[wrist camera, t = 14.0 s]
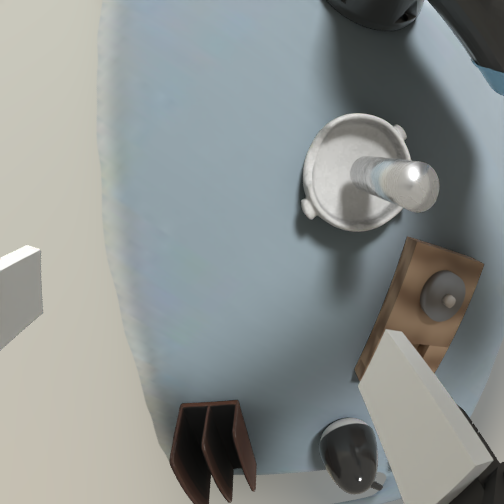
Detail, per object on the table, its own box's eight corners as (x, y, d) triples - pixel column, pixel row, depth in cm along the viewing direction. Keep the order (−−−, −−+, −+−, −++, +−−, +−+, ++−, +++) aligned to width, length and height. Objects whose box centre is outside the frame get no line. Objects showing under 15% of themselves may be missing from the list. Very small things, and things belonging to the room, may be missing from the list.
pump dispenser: (346, 448, 51) (362, 507, 36) (304, 437, 49) (315, 503, 35) (379, 416, 48) (405, 477, 34) (338, 403, 47) (359, 472, 32)
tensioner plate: (407, 236, 39) (429, 248, 33) (473, 258, 40) (496, 271, 34) (354, 369, 45) (365, 394, 39) (421, 374, 46) (435, 395, 40)
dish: (296, 224, 39) (302, 233, 34) (297, 113, 35) (304, 106, 30) (400, 226, 39) (417, 235, 34) (404, 124, 35) (422, 121, 30)
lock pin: (356, 150, 31) (406, 153, 20) (387, 163, 31) (445, 173, 21) (345, 184, 32) (391, 202, 21) (376, 196, 33) (430, 219, 22)
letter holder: (209, 465, 52) (202, 519, 39) (180, 401, 47) (163, 466, 33) (257, 463, 52) (257, 519, 38) (238, 398, 46) (234, 466, 33)
